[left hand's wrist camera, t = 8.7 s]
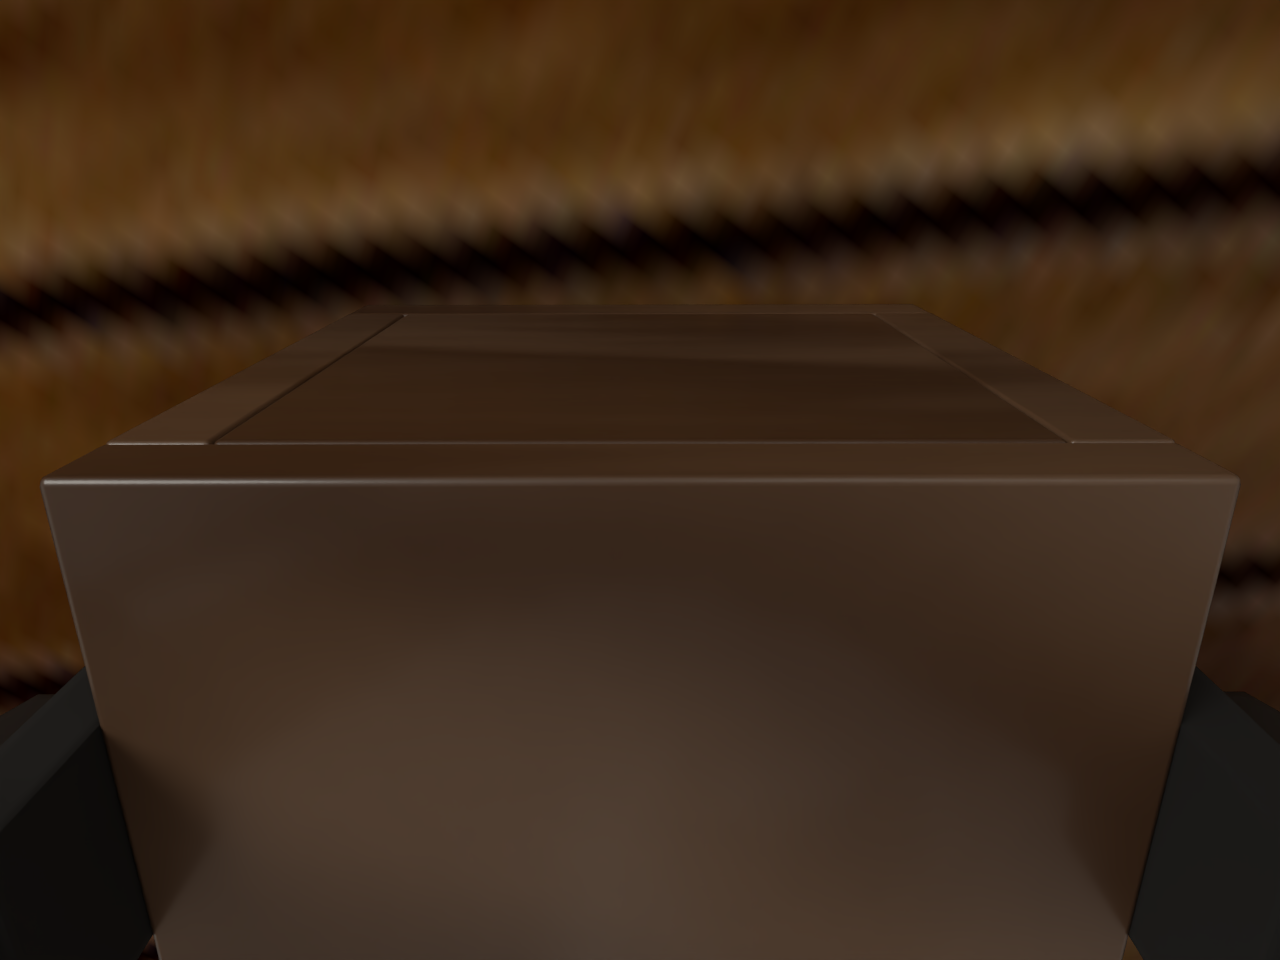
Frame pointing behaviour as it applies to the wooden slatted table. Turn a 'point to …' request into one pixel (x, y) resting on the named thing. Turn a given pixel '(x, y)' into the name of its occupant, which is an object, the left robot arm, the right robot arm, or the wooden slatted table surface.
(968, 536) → the cabinet
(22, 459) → the wooden slatted table surface
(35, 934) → the left robot arm
